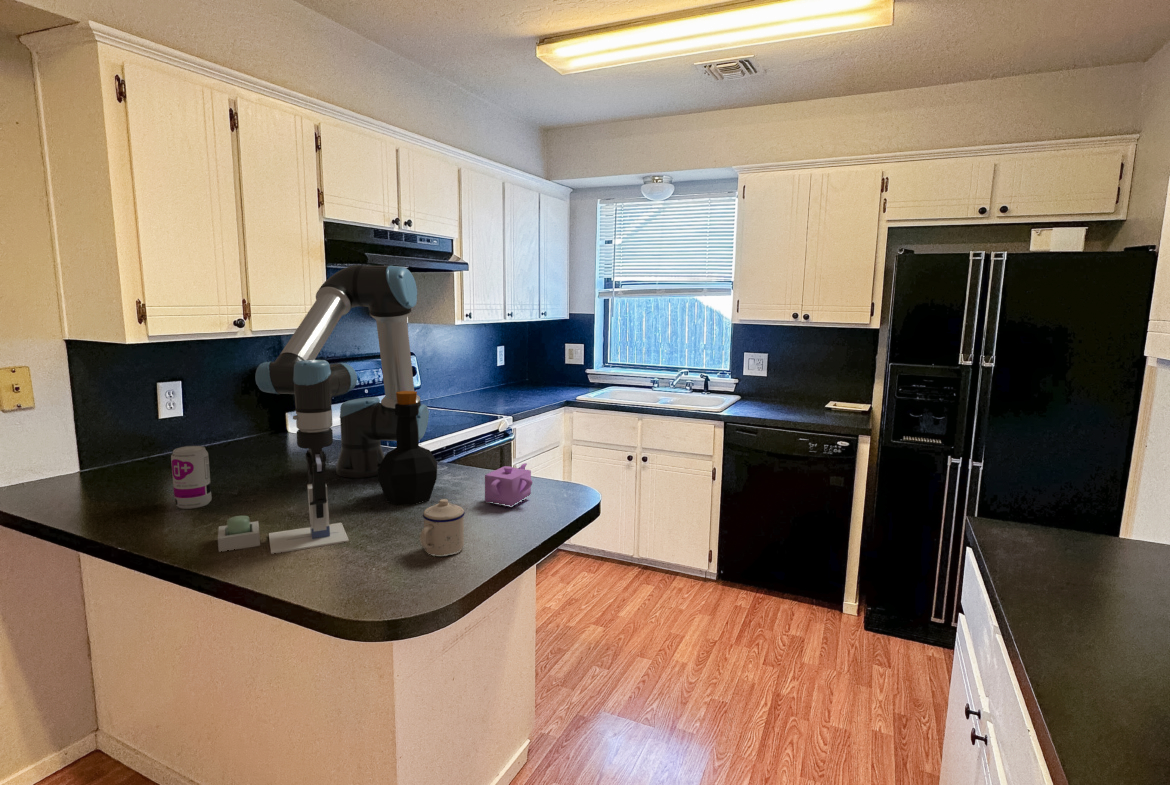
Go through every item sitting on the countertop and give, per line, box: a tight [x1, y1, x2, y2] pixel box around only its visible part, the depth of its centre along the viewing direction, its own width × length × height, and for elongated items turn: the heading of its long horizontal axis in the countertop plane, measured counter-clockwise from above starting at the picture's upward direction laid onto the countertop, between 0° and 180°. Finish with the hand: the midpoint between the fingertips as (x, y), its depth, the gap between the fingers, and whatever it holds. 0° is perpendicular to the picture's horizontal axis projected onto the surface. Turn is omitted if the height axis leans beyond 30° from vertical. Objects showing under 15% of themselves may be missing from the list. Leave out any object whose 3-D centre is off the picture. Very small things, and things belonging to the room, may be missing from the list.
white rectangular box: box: [306, 483, 330, 539], centre depth 145 cm, size 4×4×12 cm
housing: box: [217, 520, 261, 553], centre depth 141 cm, size 8×8×3 cm
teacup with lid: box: [419, 498, 466, 555], centre depth 138 cm, size 12×9×12 cm
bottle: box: [377, 390, 438, 506], centre depth 171 cm, size 16×16×30 cm
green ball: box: [226, 515, 251, 535], centre depth 141 cm, size 4×4×4 cm
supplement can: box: [170, 445, 213, 510], centre depth 163 cm, size 8×8×15 cm
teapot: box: [484, 463, 533, 506], centre depth 172 cm, size 18×14×10 cm
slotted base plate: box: [268, 522, 350, 555], centre depth 145 cm, size 16×12×1 cm
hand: (318, 526), depth 145 cm, fingers closed on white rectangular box, 4 cm apart
